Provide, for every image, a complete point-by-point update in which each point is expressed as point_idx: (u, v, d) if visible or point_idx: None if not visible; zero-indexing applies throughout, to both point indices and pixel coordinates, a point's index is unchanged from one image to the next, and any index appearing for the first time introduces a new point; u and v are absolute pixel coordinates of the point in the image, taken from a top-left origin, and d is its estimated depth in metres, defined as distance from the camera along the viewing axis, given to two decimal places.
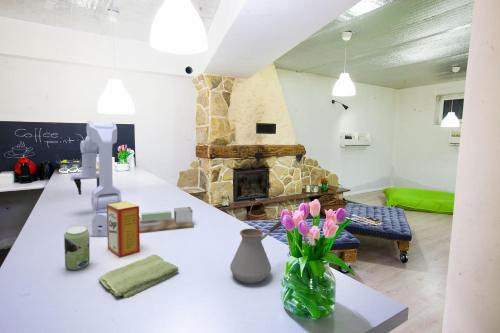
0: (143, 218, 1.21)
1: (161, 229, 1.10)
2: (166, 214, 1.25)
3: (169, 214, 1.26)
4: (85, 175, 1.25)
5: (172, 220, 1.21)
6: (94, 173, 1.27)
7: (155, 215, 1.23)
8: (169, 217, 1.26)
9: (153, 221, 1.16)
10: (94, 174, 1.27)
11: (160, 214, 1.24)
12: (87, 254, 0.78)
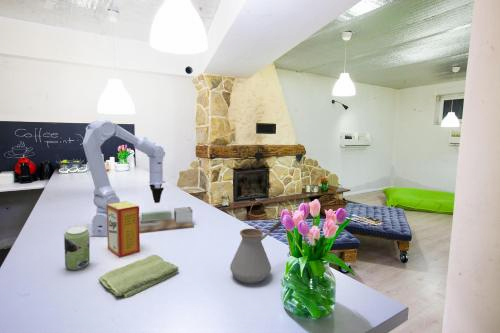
0: (143, 218, 1.21)
1: (161, 229, 1.10)
2: (166, 214, 1.25)
3: (169, 214, 1.26)
4: None
5: (172, 220, 1.21)
6: (151, 179, 1.21)
7: (155, 215, 1.23)
8: (169, 217, 1.26)
9: (153, 221, 1.16)
10: (151, 180, 1.21)
11: (160, 214, 1.24)
12: (87, 254, 0.78)
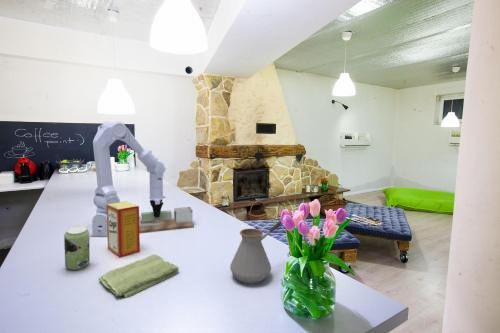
0: (143, 218, 1.21)
1: (161, 229, 1.10)
2: (166, 214, 1.25)
3: (169, 214, 1.26)
4: None
5: (172, 220, 1.21)
6: (151, 195, 1.21)
7: None
8: (169, 217, 1.26)
9: (153, 221, 1.16)
10: (151, 196, 1.21)
11: (160, 214, 1.24)
12: (87, 254, 0.78)
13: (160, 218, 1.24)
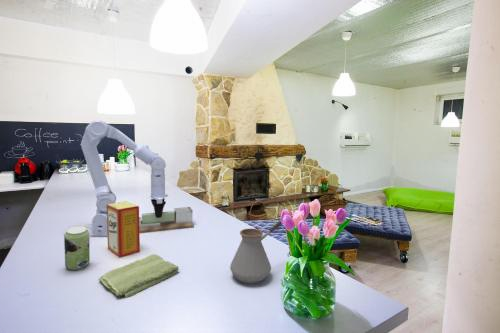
0: (144, 219, 1.11)
1: (161, 229, 1.10)
2: (169, 215, 1.15)
3: (172, 215, 1.15)
4: None
5: None
6: (153, 193, 1.11)
7: None
8: (172, 218, 1.15)
9: None
10: (153, 194, 1.11)
11: (162, 215, 1.14)
12: (87, 254, 0.78)
13: (162, 220, 1.14)
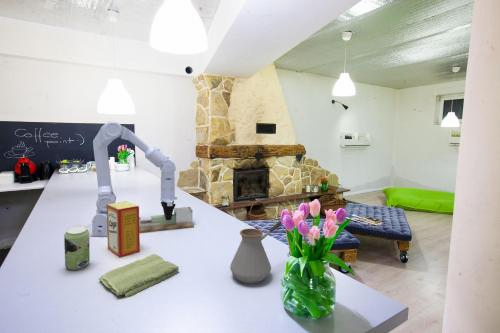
0: (153, 221, 1.13)
1: (161, 229, 1.10)
2: None
3: None
4: None
5: None
6: (163, 196, 1.13)
7: None
8: None
9: None
10: (163, 197, 1.13)
11: None
12: (87, 254, 0.78)
13: (171, 222, 1.16)
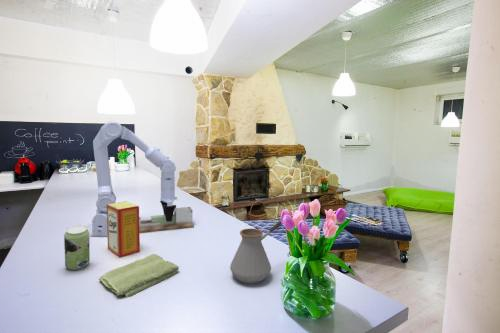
0: (153, 221, 1.13)
1: (161, 229, 1.10)
2: None
3: None
4: None
5: None
6: (163, 196, 1.13)
7: None
8: None
9: None
10: (163, 197, 1.13)
11: None
12: (87, 254, 0.78)
13: (171, 222, 1.16)
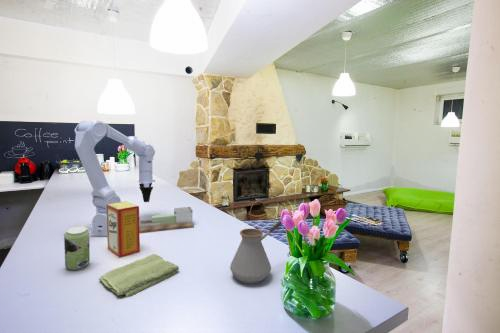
0: (153, 221, 1.13)
1: (161, 229, 1.10)
2: None
3: None
4: None
5: None
6: (140, 178, 1.19)
7: (166, 218, 1.15)
8: None
9: None
10: (140, 179, 1.19)
11: (171, 217, 1.15)
12: (87, 254, 0.78)
13: (171, 222, 1.16)
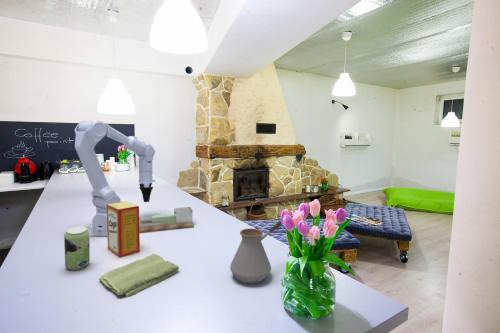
0: (153, 221, 1.13)
1: (161, 229, 1.10)
2: None
3: None
4: None
5: None
6: (140, 178, 1.19)
7: (166, 218, 1.15)
8: None
9: None
10: (140, 179, 1.19)
11: (171, 217, 1.15)
12: (87, 254, 0.78)
13: (171, 222, 1.16)
